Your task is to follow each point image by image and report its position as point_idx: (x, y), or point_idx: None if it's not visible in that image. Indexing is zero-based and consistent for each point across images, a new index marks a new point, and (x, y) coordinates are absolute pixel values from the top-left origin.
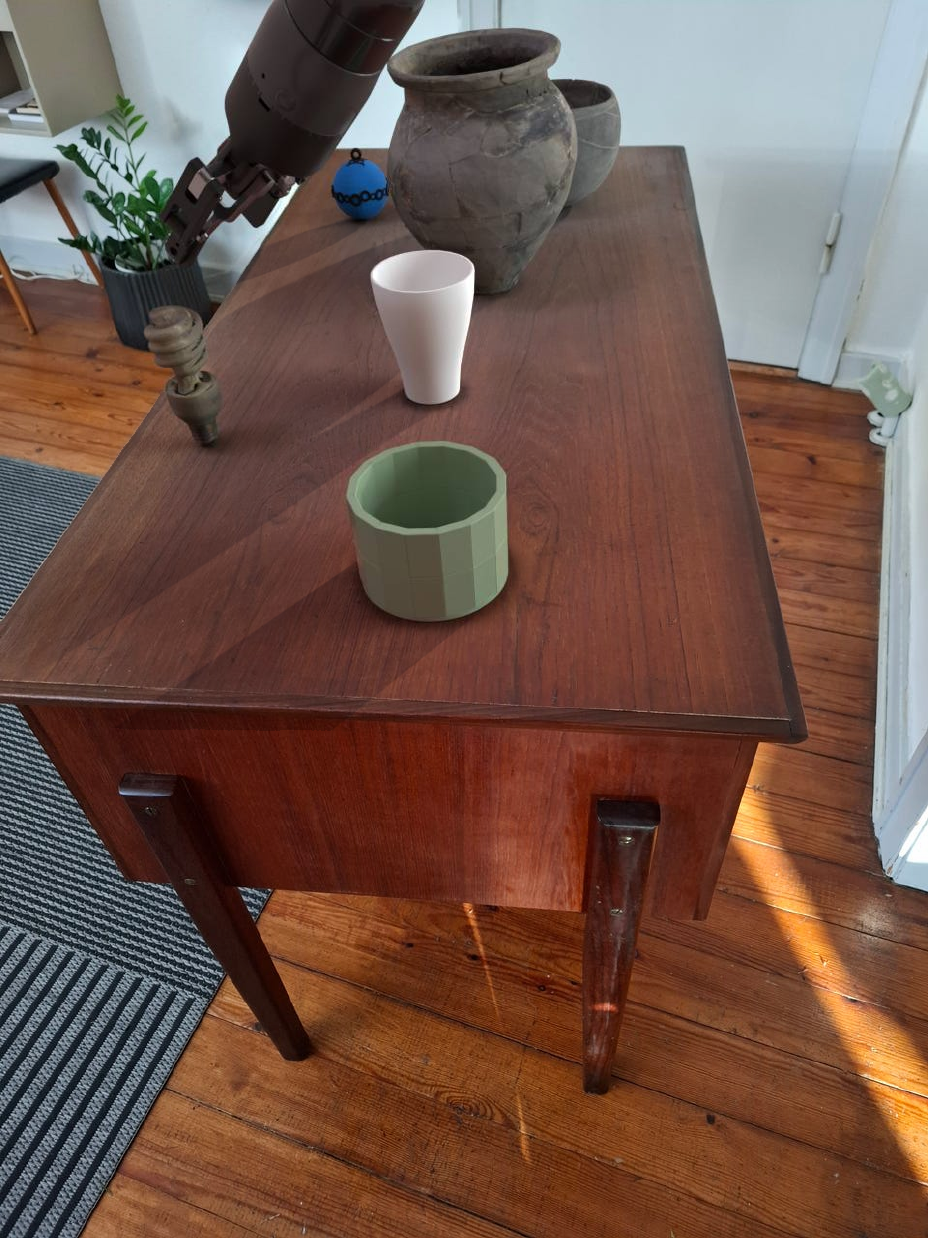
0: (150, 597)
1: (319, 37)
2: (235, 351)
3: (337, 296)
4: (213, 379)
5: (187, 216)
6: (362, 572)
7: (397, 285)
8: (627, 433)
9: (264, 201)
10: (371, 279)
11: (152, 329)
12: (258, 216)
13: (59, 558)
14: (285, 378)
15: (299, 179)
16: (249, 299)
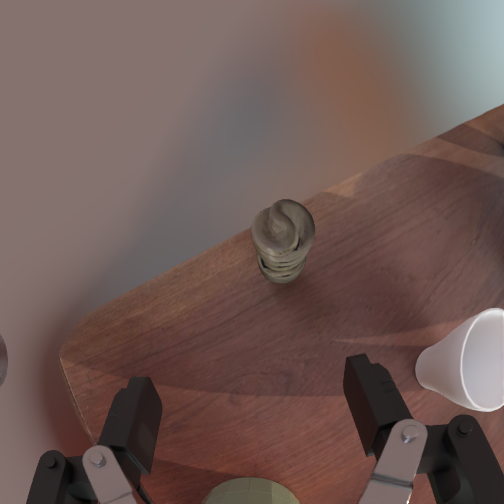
0: (128, 376)
1: None
2: (379, 191)
3: (466, 200)
4: (297, 268)
5: (86, 489)
6: (203, 501)
7: (483, 319)
8: None
9: (362, 430)
10: (466, 332)
11: (260, 224)
12: (351, 402)
13: (127, 292)
14: (381, 253)
15: (427, 473)
16: (422, 152)
